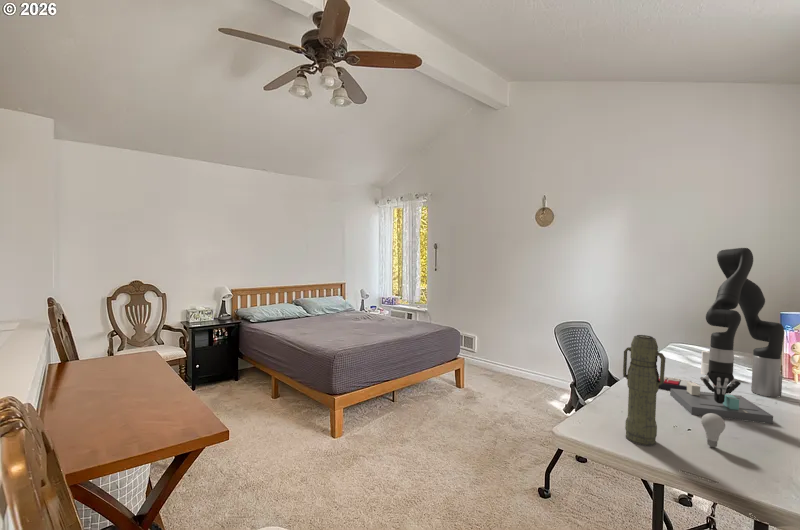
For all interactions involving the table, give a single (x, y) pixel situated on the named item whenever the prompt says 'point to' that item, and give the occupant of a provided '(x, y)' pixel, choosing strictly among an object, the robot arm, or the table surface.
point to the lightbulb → (713, 428)
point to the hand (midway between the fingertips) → (719, 402)
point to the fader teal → (731, 402)
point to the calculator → (673, 384)
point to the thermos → (643, 389)
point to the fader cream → (693, 388)
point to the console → (720, 407)
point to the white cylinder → (705, 362)
